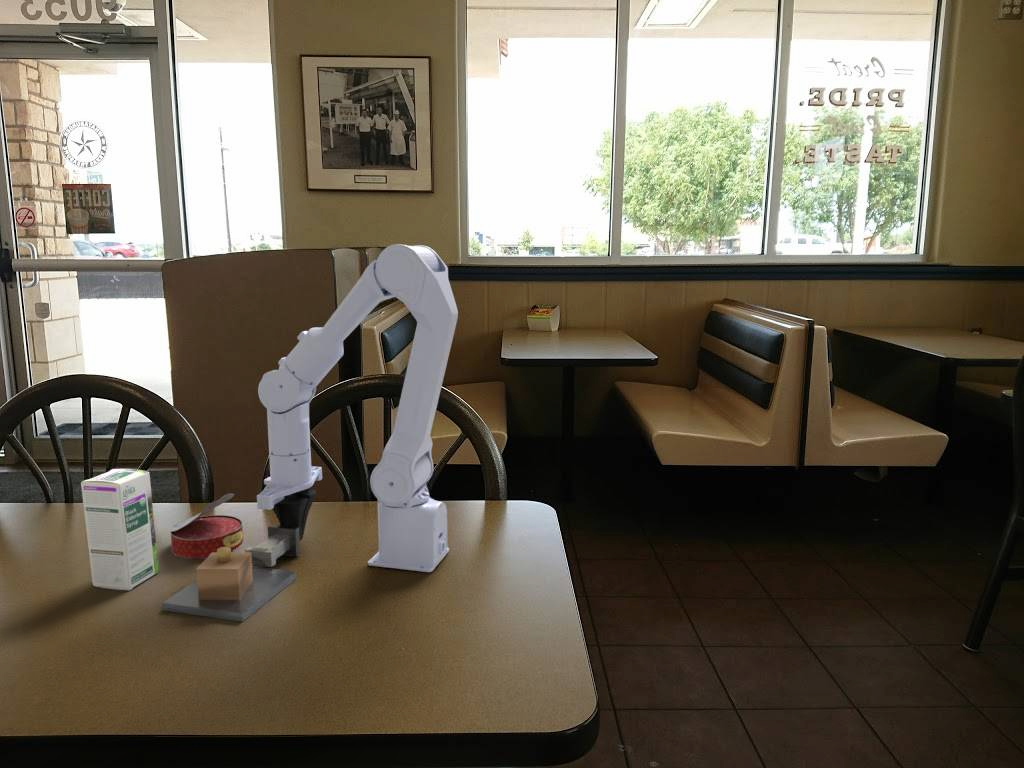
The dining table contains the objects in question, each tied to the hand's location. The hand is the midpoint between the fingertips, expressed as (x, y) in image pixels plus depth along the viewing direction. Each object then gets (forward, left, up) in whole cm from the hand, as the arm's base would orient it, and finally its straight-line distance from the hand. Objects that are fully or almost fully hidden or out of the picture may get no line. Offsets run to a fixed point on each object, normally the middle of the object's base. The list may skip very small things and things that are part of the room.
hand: (294, 540), depth 108 cm
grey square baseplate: (0, +15, -1) cm, 15 cm away
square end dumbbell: (0, +6, -1) cm, 6 cm away
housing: (0, +16, 0) cm, 16 cm away
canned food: (+13, +2, -2) cm, 13 cm away
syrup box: (+16, +15, -1) cm, 22 cm away
